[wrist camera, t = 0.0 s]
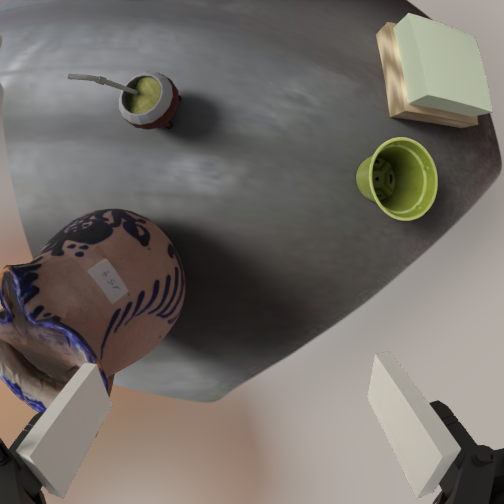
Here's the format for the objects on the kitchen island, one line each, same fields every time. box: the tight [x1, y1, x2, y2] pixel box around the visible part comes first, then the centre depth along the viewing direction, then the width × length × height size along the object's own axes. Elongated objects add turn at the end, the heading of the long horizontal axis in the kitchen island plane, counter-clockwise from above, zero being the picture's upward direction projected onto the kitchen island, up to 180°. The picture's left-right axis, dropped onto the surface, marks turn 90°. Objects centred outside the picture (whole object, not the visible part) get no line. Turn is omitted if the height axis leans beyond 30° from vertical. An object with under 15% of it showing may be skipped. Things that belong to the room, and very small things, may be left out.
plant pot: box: [356, 137, 438, 221], centre depth 33 cm, size 9×9×9 cm
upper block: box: [393, 13, 493, 117], centre depth 27 cm, size 12×12×5 cm
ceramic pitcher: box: [0, 209, 185, 436], centre depth 28 cm, size 18×21×25 cm
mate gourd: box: [68, 72, 181, 129], centre depth 28 cm, size 8×8×15 cm
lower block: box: [376, 22, 478, 128], centre depth 32 cm, size 14×14×5 cm
